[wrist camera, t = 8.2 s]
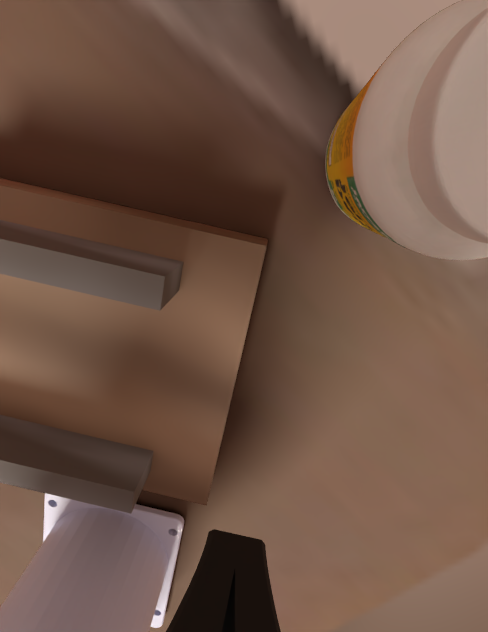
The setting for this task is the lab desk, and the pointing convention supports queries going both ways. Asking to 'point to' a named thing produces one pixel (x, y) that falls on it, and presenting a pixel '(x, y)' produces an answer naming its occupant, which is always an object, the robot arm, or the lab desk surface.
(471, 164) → the supplement bottle
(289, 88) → the lab desk surface
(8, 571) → the lab desk surface
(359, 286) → the lab desk surface
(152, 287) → the tunnel deck
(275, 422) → the lab desk surface
